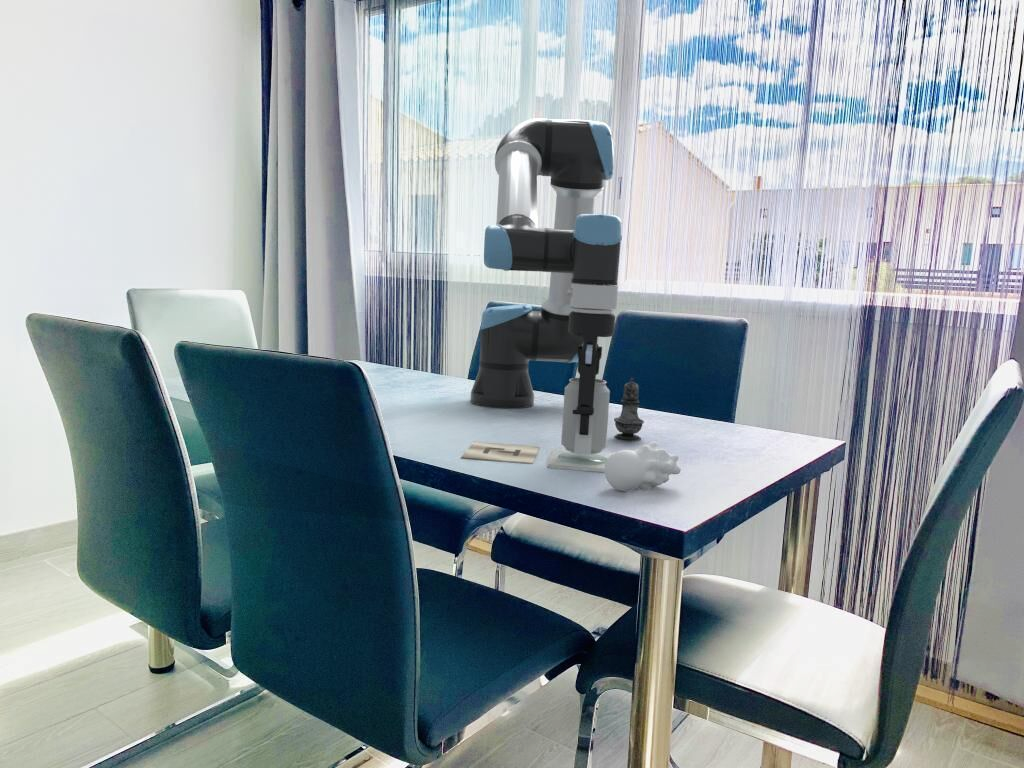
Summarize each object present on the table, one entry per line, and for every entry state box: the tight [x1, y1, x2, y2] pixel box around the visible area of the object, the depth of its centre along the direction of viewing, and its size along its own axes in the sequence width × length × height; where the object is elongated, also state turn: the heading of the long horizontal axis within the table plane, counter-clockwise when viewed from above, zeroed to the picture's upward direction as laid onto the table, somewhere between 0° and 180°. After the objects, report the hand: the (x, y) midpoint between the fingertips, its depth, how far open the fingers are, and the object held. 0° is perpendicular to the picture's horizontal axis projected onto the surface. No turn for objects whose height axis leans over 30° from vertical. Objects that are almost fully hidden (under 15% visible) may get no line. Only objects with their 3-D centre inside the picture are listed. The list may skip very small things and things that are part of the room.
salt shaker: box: [613, 377, 645, 442], centre depth 146 cm, size 6×6×12 cm
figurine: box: [603, 441, 682, 492], centre depth 112 cm, size 7×7×12 cm
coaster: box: [546, 448, 613, 473], centre depth 126 cm, size 11×11×1 cm
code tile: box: [460, 441, 540, 465], centre depth 130 cm, size 12×12×1 cm
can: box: [561, 377, 611, 454], centre depth 125 cm, size 8×8×12 cm
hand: (583, 447), depth 126 cm, fingers closed on can, 7 cm apart
